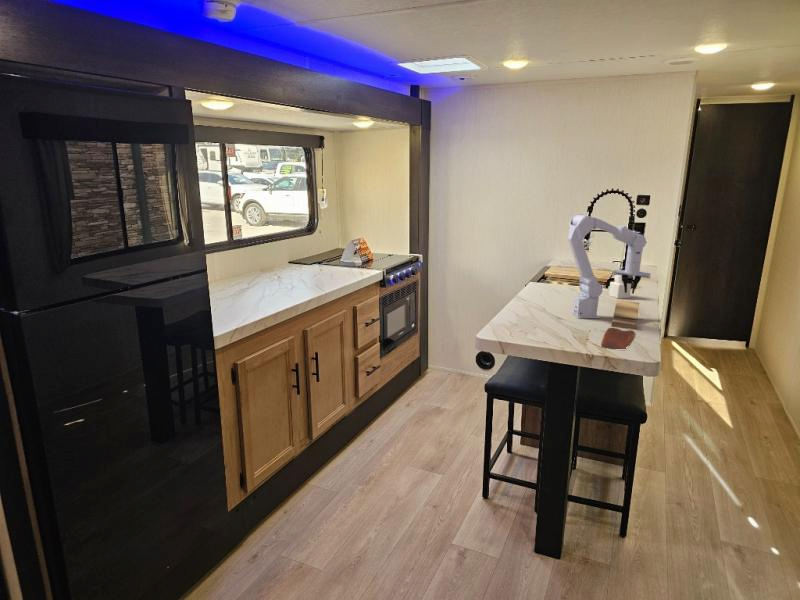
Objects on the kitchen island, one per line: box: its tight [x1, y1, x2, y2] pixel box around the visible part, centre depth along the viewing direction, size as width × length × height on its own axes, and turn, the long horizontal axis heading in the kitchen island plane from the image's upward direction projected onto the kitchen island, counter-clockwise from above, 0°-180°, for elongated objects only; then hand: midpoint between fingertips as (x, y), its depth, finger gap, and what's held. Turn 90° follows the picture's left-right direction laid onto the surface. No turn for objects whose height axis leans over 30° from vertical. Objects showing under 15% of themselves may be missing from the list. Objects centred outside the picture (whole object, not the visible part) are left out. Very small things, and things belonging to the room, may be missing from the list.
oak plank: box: [613, 299, 640, 319], centre depth 222 cm, size 11×9×2 cm
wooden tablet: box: [600, 327, 635, 350], centre depth 196 cm, size 27×10×2 cm, turn 151°
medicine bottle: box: [608, 274, 632, 300], centre depth 261 cm, size 7×7×12 cm
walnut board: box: [610, 315, 638, 330], centre depth 214 cm, size 8×9×3 cm
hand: (629, 292), depth 225 cm, fingers open, 2 cm apart
